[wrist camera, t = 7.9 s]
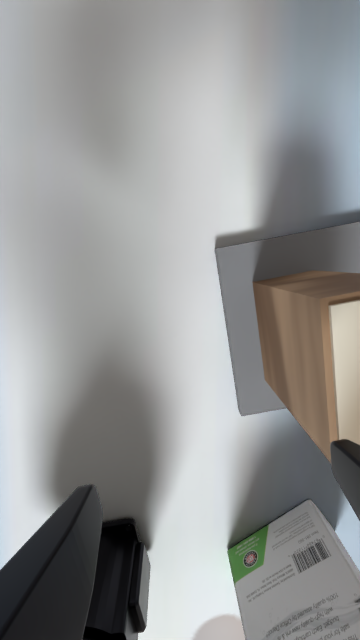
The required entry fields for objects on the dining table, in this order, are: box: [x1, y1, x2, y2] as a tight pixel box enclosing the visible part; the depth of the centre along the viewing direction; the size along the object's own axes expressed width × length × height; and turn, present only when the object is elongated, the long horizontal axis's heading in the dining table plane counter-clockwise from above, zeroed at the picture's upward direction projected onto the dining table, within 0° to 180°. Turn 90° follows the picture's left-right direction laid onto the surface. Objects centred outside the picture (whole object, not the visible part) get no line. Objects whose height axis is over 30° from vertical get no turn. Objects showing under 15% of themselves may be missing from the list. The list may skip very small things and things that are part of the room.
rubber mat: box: [215, 222, 360, 416], centre depth 18 cm, size 14×12×1 cm
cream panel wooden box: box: [252, 270, 360, 463], centre depth 14 cm, size 4×7×8 cm, turn 11°
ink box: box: [227, 500, 360, 640], centre depth 17 cm, size 9×5×12 cm, turn 127°
